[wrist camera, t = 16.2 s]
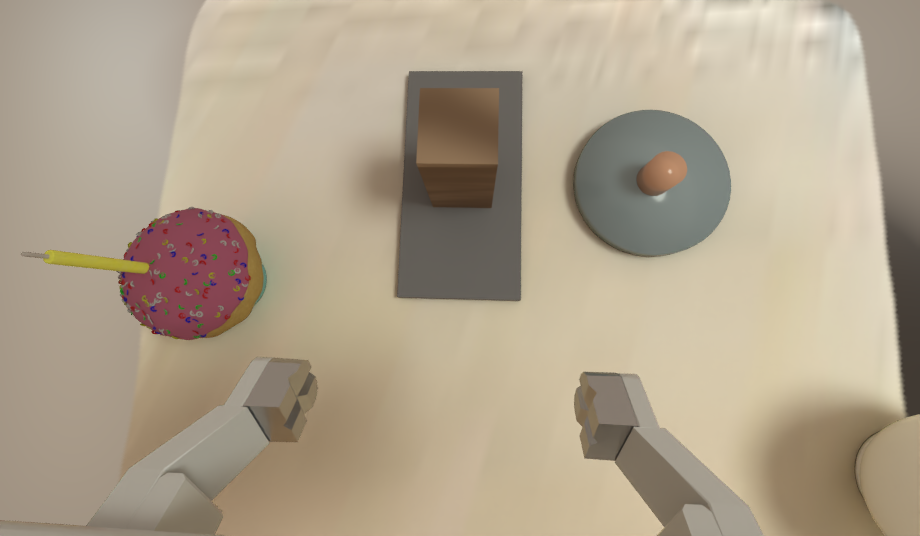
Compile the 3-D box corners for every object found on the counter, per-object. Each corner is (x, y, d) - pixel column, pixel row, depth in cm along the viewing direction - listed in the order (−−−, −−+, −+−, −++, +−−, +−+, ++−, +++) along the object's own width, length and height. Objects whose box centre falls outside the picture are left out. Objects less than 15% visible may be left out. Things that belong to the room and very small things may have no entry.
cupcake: (179, 337, 28) (-40, 352, 16) (187, 228, 29) (-13, 166, 17) (291, 334, 28) (151, 346, 16) (294, 223, 29) (166, 157, 17)
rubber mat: (519, 300, 27) (520, 300, 27) (398, 297, 28) (397, 296, 27) (521, 75, 30) (522, 71, 29) (410, 75, 30) (408, 71, 29)
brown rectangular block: (491, 208, 28) (497, 164, 20) (433, 207, 28) (416, 163, 20) (492, 152, 28) (499, 88, 20) (435, 151, 28) (419, 88, 21)
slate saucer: (726, 258, 27) (759, 250, 24) (574, 255, 27) (587, 247, 24) (717, 117, 28) (747, 92, 25) (572, 116, 29) (584, 92, 26)
